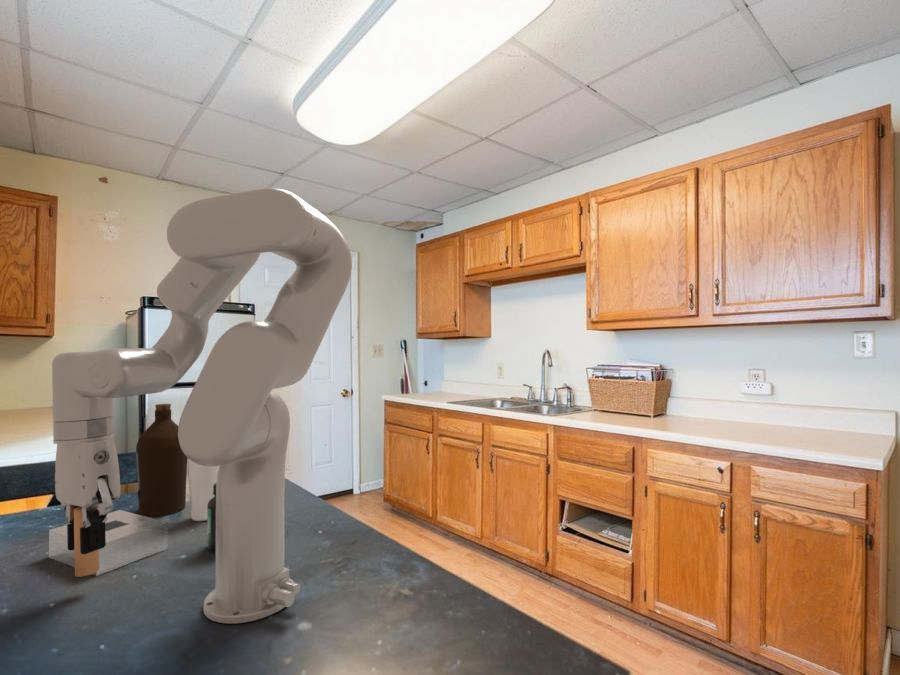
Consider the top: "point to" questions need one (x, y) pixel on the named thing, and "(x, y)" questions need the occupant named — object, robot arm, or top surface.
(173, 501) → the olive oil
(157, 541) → the hole block
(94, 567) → the peg
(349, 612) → the top surface
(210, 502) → the supplement bottle
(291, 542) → the top surface
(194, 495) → the drinking glass
